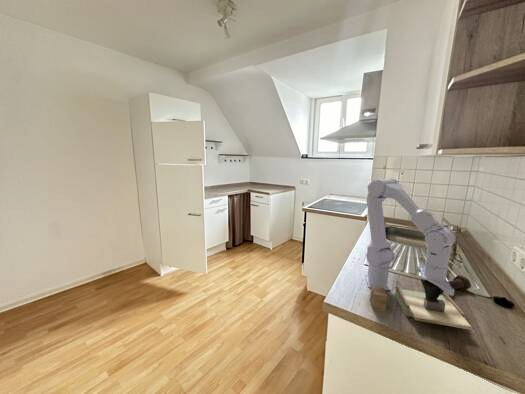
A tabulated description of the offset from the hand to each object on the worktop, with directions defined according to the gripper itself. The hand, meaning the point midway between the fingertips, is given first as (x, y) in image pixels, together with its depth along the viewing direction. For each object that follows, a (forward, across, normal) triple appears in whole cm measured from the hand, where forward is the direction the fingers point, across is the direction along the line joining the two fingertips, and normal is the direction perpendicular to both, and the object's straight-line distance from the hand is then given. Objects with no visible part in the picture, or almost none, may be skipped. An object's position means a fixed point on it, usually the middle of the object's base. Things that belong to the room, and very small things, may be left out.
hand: (430, 301), depth 75 cm
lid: (+2, +2, -1) cm, 3 cm away
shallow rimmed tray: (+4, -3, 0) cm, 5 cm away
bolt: (+5, -15, +17) cm, 23 cm away
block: (+4, -3, -16) cm, 17 cm away
